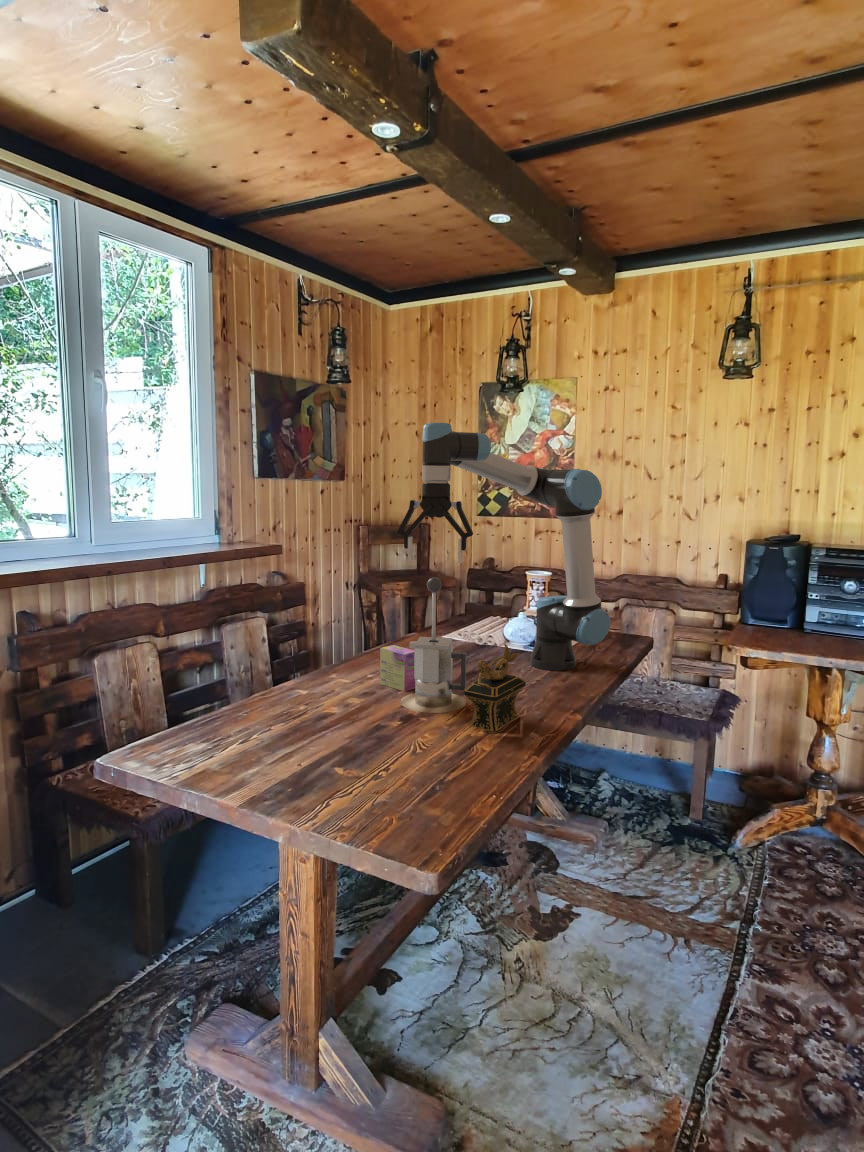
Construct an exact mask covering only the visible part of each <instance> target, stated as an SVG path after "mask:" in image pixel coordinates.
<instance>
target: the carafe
mask: <svg viewBox="0 0 864 1152" xmlns="http://www.w3.org/2000/svg"><path fill="white" fill-rule="evenodd" d="M408 649H413V650H414V678H415V688H414V693H415V703H416V704H418V705H420V706H423V707H430V708H438V707H444V706H448V705H450V704H451V702H452V694H453V691H452V690H454V691H464V689H465V688H467V686H466V685H467V652H465V651H464V652H463V651H454V644H453V637H439V636H438V637H436V640H432V636H419V637H418V638H417V640H415V641H412V640H411V641H410V642H409V648H408ZM454 659H460V683H459V682H453V673H454V672H453V665H454V664H453V663H454V662H453V660H454Z"/></svg>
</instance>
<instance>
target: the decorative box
mask: <svg viewBox="0 0 864 1152" xmlns="http://www.w3.org/2000/svg"><path fill="white" fill-rule="evenodd" d="M503 645H504V651H503V654H502V656H498V657H496V658H494V659H492V661H491V662H489V663H488V664H487V663H486V662H487V661H486V660H484V659H480V660H478V662H477V667H478V670H479V674H478V678H477V680H475V681H473V682H471V683H470V684H469V685H467V686H466V688H465V689H464V690H463V694H464V697H466V698H467V699H468V700H469V701H470V702H471V703H472V705H473V710H474V711H473V716H472V719H471V720H470V721H469V726H471V727H473V728H477V729H482V732H483V733H487V734H492V735H496V734H499V733H500V732H499V731H500V730H501V729H503V728H504V727H505V726H508V725H509V724H510V723H512V722H514V721H516V720H518V719H519V718H520V717H519V715H518V712H517V710H516V699H517V697H518V695H519V694H520V692H521V691H522V690H523V689H524V688H525V687H526V684H527V683H526V680H524V679H523V678H521V677H519V676H518V675H515V674H509V673H507V672H508V670H509V663H512V662H515V661H516V660H517V658H518V657H519V656H520V654H521V653H520V652H521V651H520V652H519V651H517V652H515V653H512V654H511V650H510V648H509V647H508V644H506V643H505V642H504V644H503ZM495 662H496V664H495ZM494 664H495V666H494V669H492V668H491V667H492V666H493V665H494ZM484 730H486V731H484Z"/></svg>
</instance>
